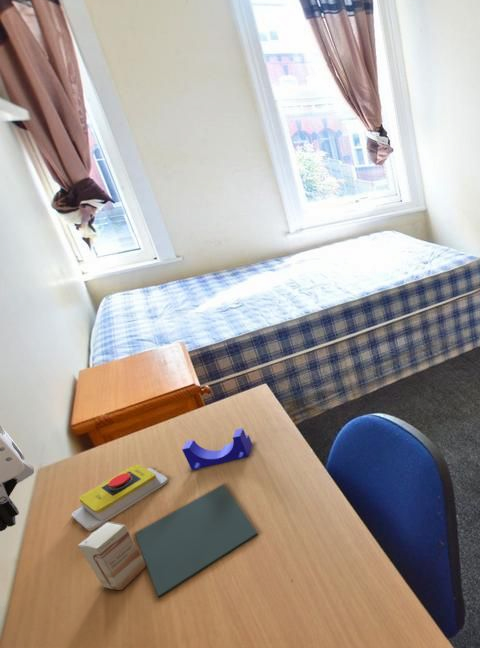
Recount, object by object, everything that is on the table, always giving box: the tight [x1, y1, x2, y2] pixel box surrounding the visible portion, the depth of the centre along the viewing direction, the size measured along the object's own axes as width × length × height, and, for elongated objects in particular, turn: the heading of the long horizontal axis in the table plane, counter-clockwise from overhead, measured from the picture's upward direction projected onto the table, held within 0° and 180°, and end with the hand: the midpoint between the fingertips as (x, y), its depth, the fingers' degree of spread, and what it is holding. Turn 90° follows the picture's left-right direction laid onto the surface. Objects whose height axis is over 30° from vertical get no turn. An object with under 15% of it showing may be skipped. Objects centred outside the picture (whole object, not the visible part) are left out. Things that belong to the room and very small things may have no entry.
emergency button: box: [71, 463, 169, 532], centre depth 100 cm, size 9×4×15 cm
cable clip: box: [181, 428, 253, 471], centre depth 109 cm, size 12×4×6 cm, turn 105°
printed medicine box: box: [77, 521, 147, 591], centre depth 80 cm, size 5×4×10 cm
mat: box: [134, 484, 258, 598], centre depth 89 cm, size 16×20×1 cm
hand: (8, 523), depth 70 cm, fingers closed
